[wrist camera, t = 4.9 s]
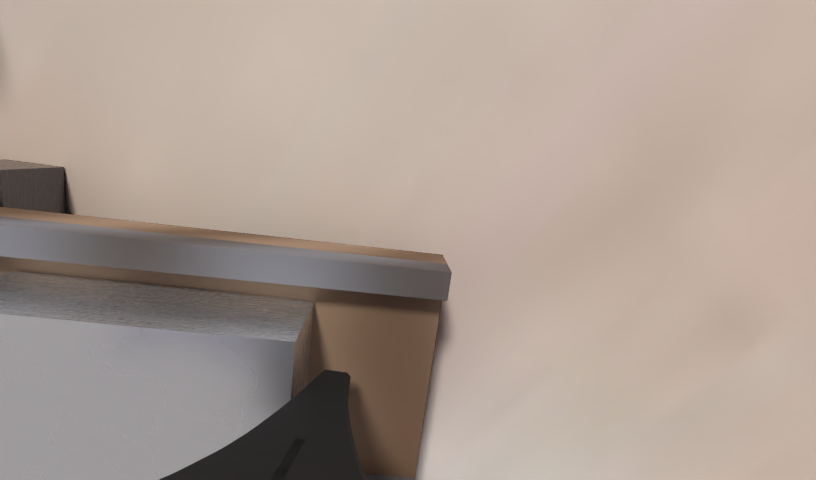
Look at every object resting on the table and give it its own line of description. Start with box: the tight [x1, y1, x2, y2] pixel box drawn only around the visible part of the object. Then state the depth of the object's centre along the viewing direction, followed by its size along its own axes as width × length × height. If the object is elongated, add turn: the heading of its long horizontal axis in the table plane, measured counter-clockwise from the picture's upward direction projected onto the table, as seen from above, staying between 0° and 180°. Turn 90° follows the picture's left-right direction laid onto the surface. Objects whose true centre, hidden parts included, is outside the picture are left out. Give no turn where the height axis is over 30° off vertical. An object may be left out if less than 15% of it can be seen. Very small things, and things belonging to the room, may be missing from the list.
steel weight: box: [0, 270, 314, 480], centre depth 11 cm, size 8×5×2 cm, turn 83°
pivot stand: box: [0, 160, 66, 214], centre depth 14 cm, size 2×10×2 cm, turn 173°
